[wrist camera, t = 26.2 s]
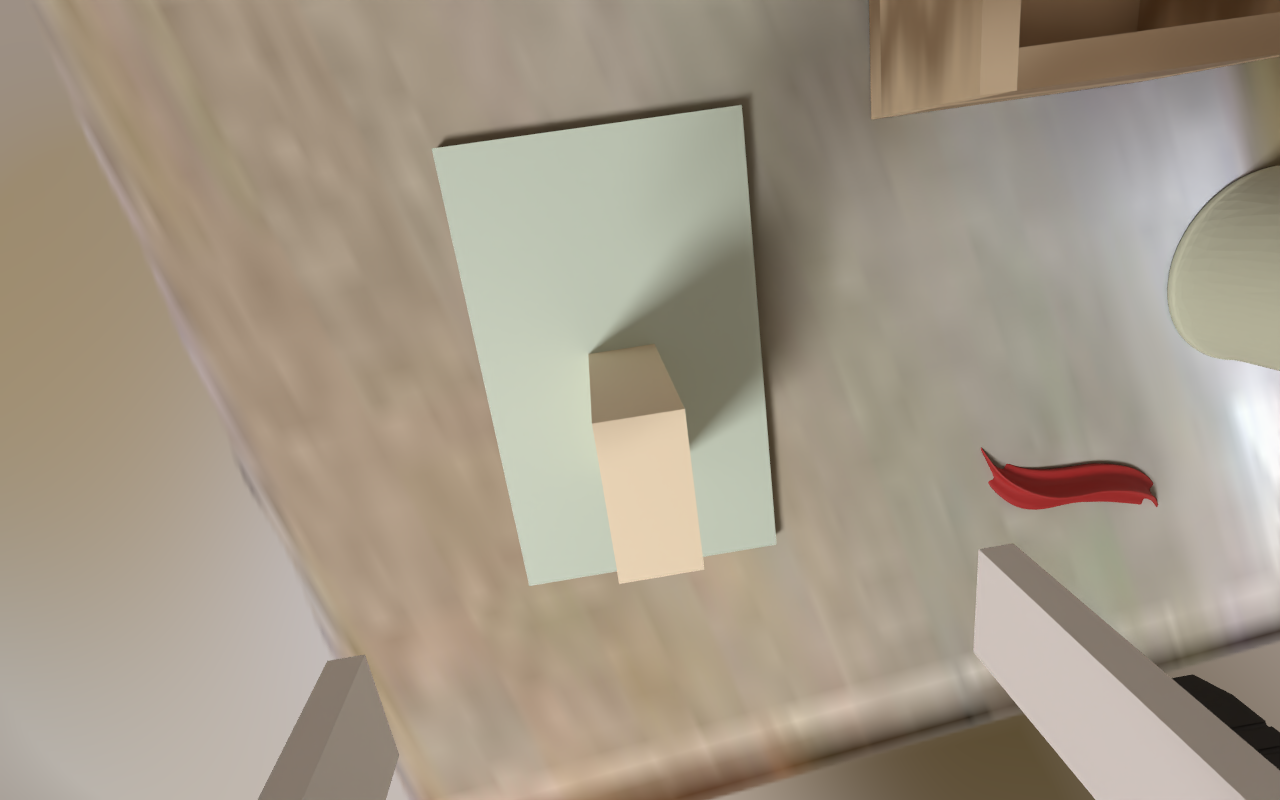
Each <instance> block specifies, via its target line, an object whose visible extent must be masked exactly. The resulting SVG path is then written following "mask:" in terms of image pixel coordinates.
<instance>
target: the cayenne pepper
mask: <svg viewBox="0 0 1280 800" xmlns="http://www.w3.org/2000/svg"><path fill="white" fill-rule="evenodd" d="M981 451H982V453H983V455H984V457H985V459H986V461H987V463H988V465H989V467H990V469H991V471H992V473H993V476H994V478H993V480H990V481H989V482H988V483H989V485H990V486H991V488H992V489H993V490H994V491H995V492H996V493H997V494H998V495H1000V496H1001V497H1002V498H1003V499H1004V500H1006V501H1007V502H1009V503H1010V504H1012V505H1014V506H1017V507H1020V508H1024V509H1046V508H1051V507H1056V506H1060V505H1064V504H1069V503H1076V502H1098V501H1104V502H1121V503H1132V504H1141V503H1142V501H1143V499H1144V498H1147V499H1150V500H1151V501H1152V502H1153V503H1154V504H1155V505H1156V507H1157V506H1158V503H1157V499H1156V498H1155V497H1154V496H1153V495H1152V494H1151V492H1150V488H1151V487H1152V485H1153V482H1152V481H1151V480H1150V478H1149V477H1147V476H1146V475H1145V474H1143V473H1142V472H1140V471H1138V470H1136V469H1134V468H1131V467H1127V466H1122V465H1115V464H1084V465H1077V466H1070V467H1063V468H1055V469H1026V468H1020V467H1016V466H1013V465H1010V464H1006V465H1005V467H1004V469H1000V468H998V467H996V466H995V465H994V464H993V463H992V462H991V461H990V459H989V458H988V457H987V455H986V454H985V452H984V451H983V449H982V448H981Z"/></svg>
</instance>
